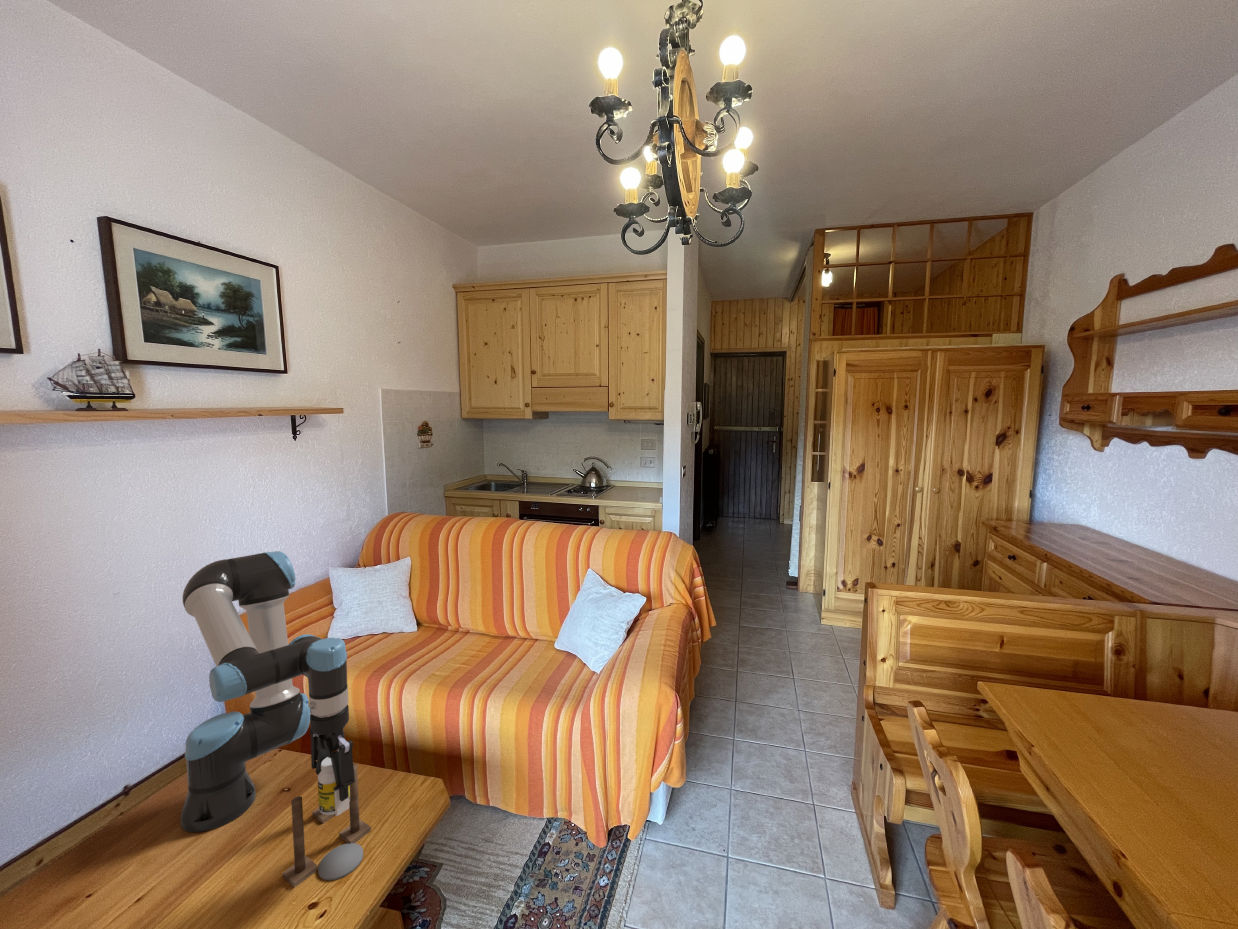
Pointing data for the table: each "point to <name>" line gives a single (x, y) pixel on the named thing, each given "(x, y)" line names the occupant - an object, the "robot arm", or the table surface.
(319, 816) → the post
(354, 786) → the post corner
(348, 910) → the table surface
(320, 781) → the pill bottle
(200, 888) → the table surface
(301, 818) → the post
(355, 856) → the coaster
